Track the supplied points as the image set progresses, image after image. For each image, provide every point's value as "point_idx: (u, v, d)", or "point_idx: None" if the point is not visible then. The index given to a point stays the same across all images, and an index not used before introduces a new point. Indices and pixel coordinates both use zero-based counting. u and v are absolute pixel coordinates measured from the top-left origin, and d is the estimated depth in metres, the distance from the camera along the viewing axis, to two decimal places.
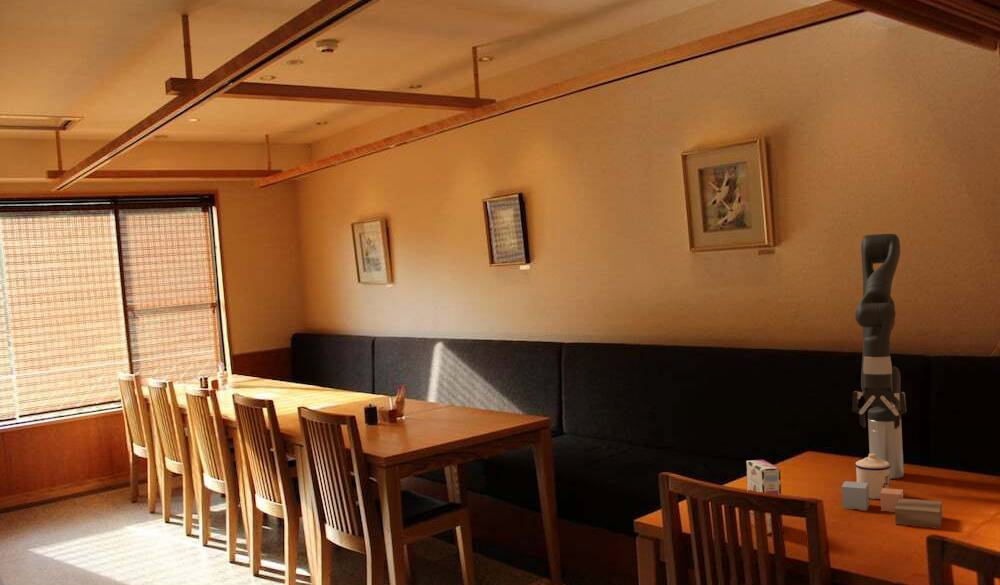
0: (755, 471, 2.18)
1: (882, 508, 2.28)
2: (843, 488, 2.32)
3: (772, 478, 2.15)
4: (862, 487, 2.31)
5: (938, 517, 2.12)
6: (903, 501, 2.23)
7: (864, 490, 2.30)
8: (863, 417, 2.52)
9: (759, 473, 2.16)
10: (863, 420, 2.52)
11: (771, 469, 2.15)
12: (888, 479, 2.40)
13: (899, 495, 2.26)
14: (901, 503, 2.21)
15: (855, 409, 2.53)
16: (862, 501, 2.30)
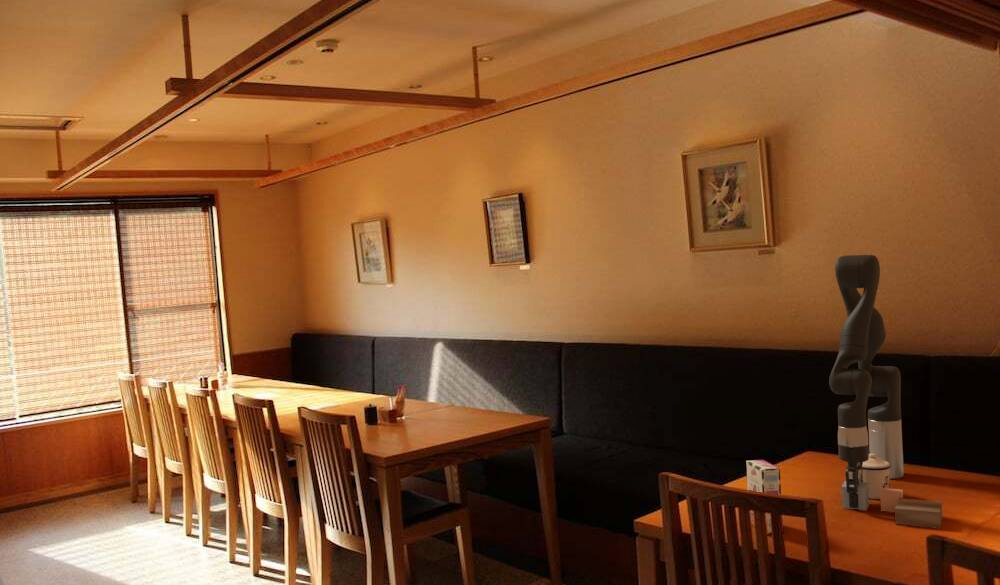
0: (755, 471, 2.18)
1: (882, 508, 2.28)
2: (843, 488, 2.32)
3: (772, 478, 2.15)
4: (862, 487, 2.31)
5: (938, 517, 2.12)
6: (903, 501, 2.23)
7: (864, 490, 2.30)
8: (857, 496, 2.30)
9: (759, 473, 2.16)
10: None
11: (771, 469, 2.15)
12: (888, 479, 2.40)
13: (899, 495, 2.26)
14: (901, 503, 2.21)
15: (857, 490, 2.28)
16: (862, 501, 2.30)
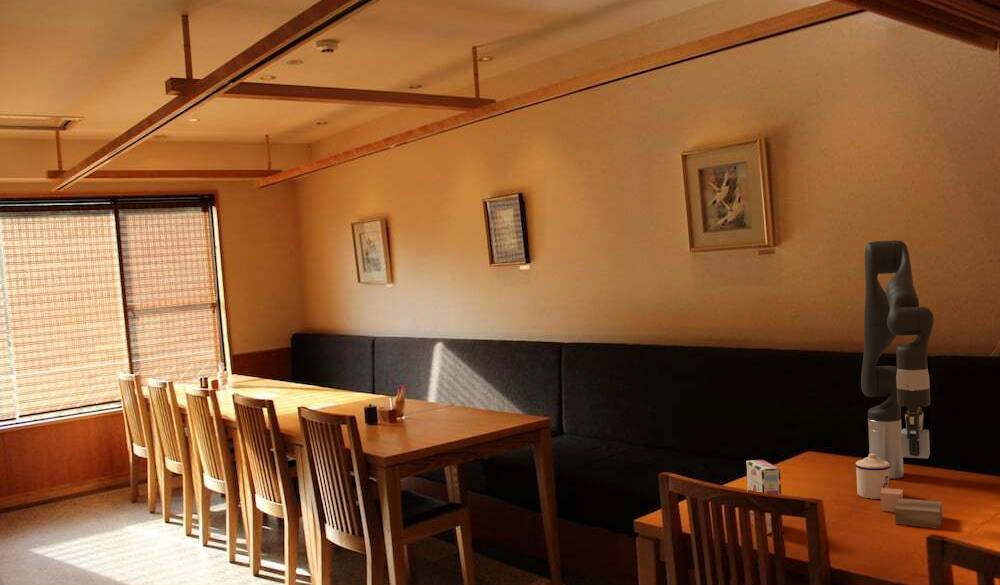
0: (755, 471, 2.18)
1: (882, 508, 2.28)
2: (902, 435, 2.17)
3: (772, 478, 2.15)
4: (923, 433, 2.15)
5: (938, 517, 2.12)
6: (903, 501, 2.23)
7: (926, 436, 2.14)
8: None
9: (759, 473, 2.16)
10: None
11: (771, 469, 2.15)
12: (888, 479, 2.40)
13: (899, 495, 2.26)
14: (901, 503, 2.21)
15: (918, 436, 2.13)
16: (923, 448, 2.15)
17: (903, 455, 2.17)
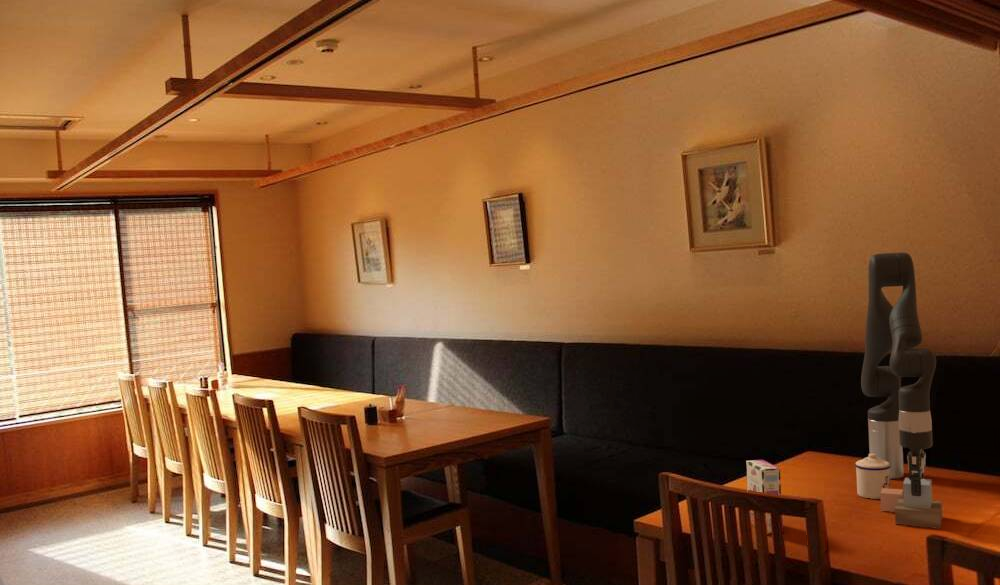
0: (755, 471, 2.18)
1: (883, 508, 2.28)
2: (905, 485, 2.17)
3: (772, 478, 2.15)
4: (926, 484, 2.16)
5: (938, 517, 2.12)
6: (903, 501, 2.23)
7: (928, 487, 2.15)
8: None
9: (759, 473, 2.16)
10: None
11: (771, 469, 2.15)
12: (888, 479, 2.40)
13: (899, 495, 2.26)
14: (901, 503, 2.21)
15: (920, 477, 2.13)
16: (926, 499, 2.15)
17: (906, 505, 2.18)
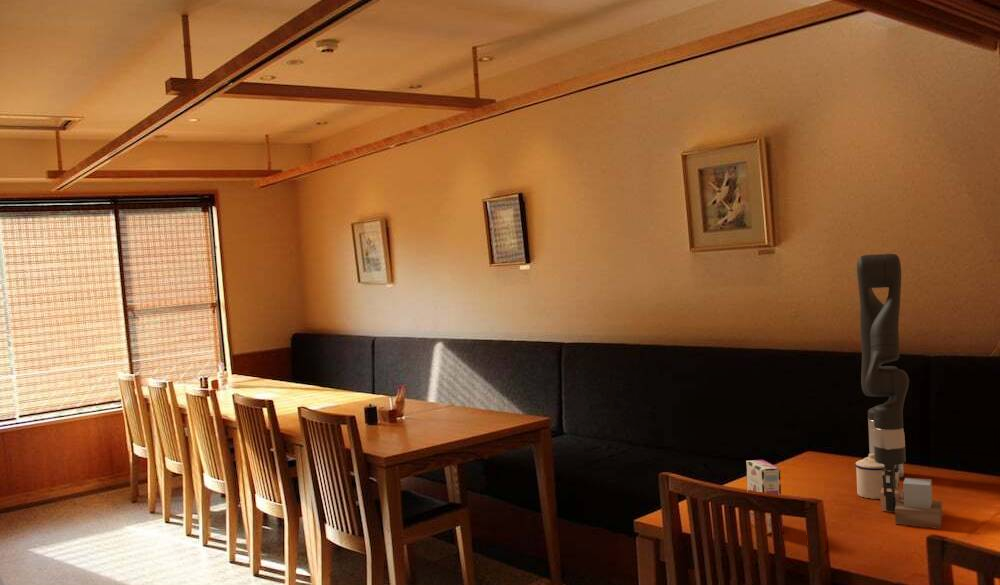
0: (755, 471, 2.18)
1: (882, 508, 2.28)
2: (905, 485, 2.17)
3: (772, 478, 2.15)
4: (926, 484, 2.16)
5: (938, 517, 2.12)
6: (903, 501, 2.23)
7: (928, 487, 2.15)
8: None
9: (759, 473, 2.16)
10: None
11: (771, 469, 2.15)
12: None
13: (899, 495, 2.26)
14: (901, 503, 2.21)
15: (894, 493, 2.24)
16: (926, 499, 2.15)
17: (906, 505, 2.18)
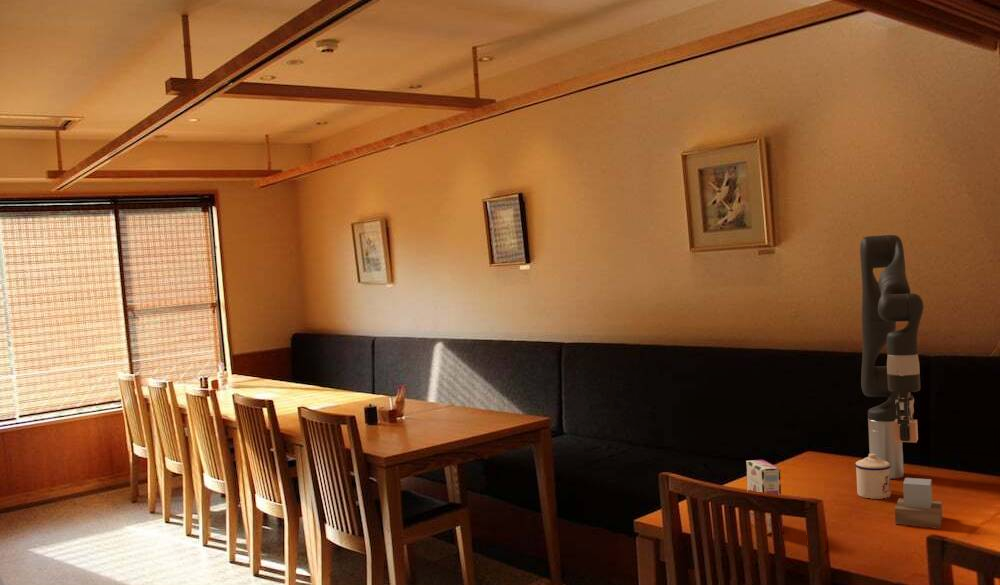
0: (755, 471, 2.18)
1: (896, 438, 2.19)
2: (905, 485, 2.17)
3: (772, 478, 2.15)
4: (926, 484, 2.16)
5: (938, 517, 2.12)
6: (903, 501, 2.23)
7: (928, 487, 2.15)
8: None
9: (759, 473, 2.16)
10: (909, 432, 2.18)
11: (771, 469, 2.15)
12: (888, 479, 2.40)
13: (913, 423, 2.17)
14: (901, 503, 2.21)
15: (908, 421, 2.16)
16: (926, 499, 2.15)
17: (906, 505, 2.18)
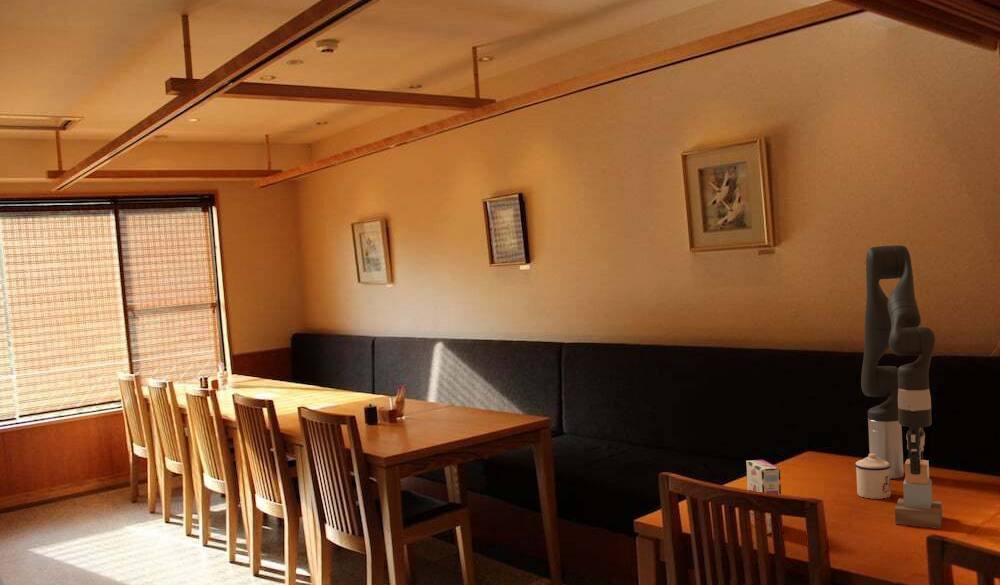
0: (755, 471, 2.18)
1: (907, 479, 2.18)
2: (905, 485, 2.17)
3: (772, 478, 2.15)
4: None
5: (938, 517, 2.12)
6: (903, 501, 2.23)
7: (928, 487, 2.15)
8: None
9: (759, 473, 2.16)
10: None
11: (771, 469, 2.15)
12: (888, 479, 2.40)
13: (925, 465, 2.15)
14: (901, 503, 2.21)
15: (919, 455, 2.12)
16: (926, 499, 2.15)
17: (906, 505, 2.18)
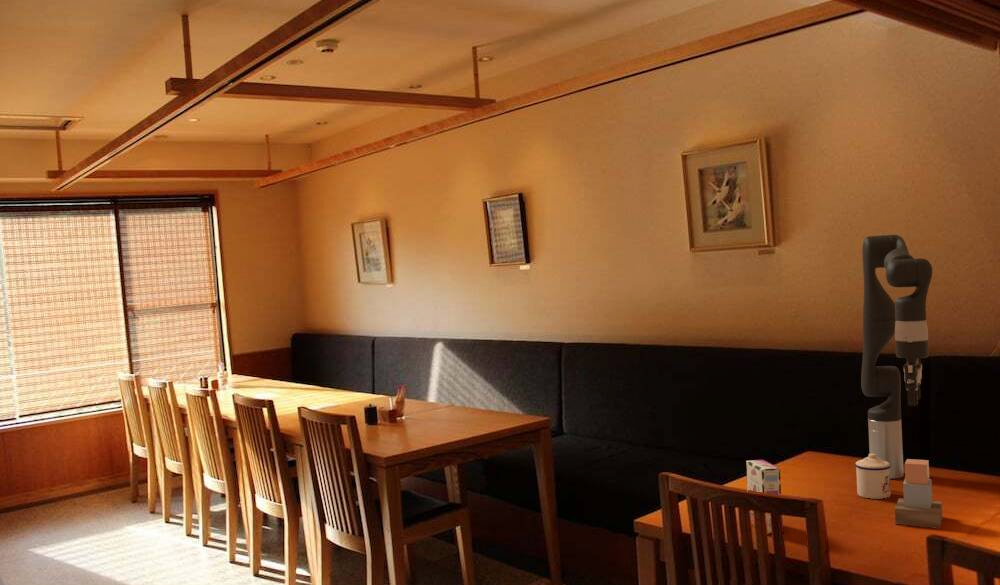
0: (755, 471, 2.18)
1: (907, 479, 2.18)
2: (905, 485, 2.17)
3: (772, 478, 2.15)
4: None
5: (938, 517, 2.12)
6: (903, 501, 2.23)
7: (928, 487, 2.15)
8: None
9: (759, 473, 2.16)
10: (917, 397, 2.14)
11: (771, 469, 2.15)
12: (888, 479, 2.40)
13: (925, 465, 2.15)
14: (901, 503, 2.21)
15: (916, 385, 2.12)
16: (926, 499, 2.15)
17: (906, 505, 2.18)
